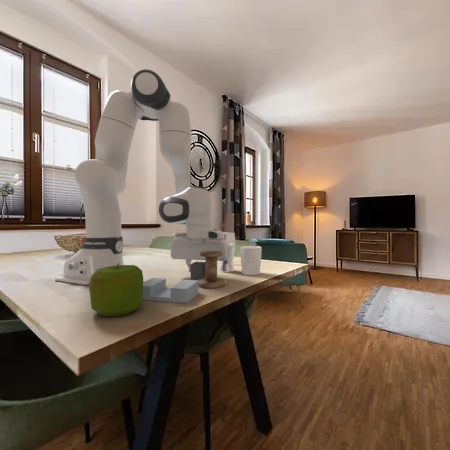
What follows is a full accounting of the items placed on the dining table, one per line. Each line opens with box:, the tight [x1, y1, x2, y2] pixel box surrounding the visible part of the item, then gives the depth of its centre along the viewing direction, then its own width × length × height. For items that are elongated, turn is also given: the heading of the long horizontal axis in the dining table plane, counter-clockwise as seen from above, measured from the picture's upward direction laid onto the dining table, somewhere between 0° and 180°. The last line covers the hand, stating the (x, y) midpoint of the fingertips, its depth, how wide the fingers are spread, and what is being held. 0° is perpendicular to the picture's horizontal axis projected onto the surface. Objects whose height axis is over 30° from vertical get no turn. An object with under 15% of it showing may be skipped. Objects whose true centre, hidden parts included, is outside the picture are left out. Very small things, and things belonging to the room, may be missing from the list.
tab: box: [190, 260, 206, 280], centre depth 92 cm, size 4×6×5 cm, turn 167°
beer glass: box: [218, 231, 236, 273], centre depth 103 cm, size 7×7×15 cm
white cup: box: [239, 245, 262, 276], centre depth 98 cm, size 8×8×10 cm
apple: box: [88, 263, 144, 318], centre depth 58 cm, size 11×11×11 cm
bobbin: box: [197, 251, 227, 290], centre depth 81 cm, size 9×9×10 cm
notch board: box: [142, 277, 200, 304], centre depth 69 cm, size 14×9×4 cm, turn 77°
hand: (199, 272), depth 92 cm, fingers closed on tab, 4 cm apart
